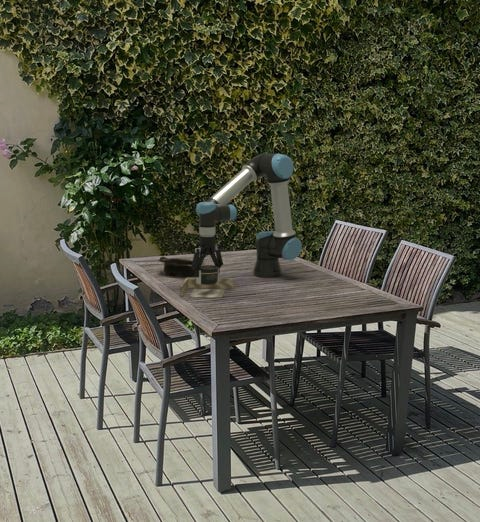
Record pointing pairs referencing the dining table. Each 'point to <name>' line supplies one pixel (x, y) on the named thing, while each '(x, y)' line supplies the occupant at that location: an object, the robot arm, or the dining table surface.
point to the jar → (209, 274)
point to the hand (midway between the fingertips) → (207, 282)
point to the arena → (206, 288)
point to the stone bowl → (178, 266)
